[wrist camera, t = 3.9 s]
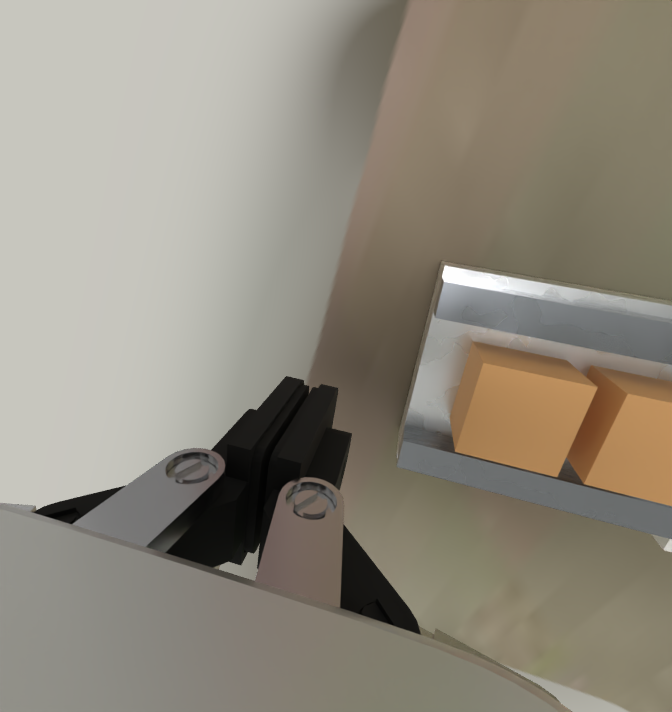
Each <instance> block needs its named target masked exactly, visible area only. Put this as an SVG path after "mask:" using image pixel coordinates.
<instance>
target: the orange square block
mask: <svg viewBox="0 0 672 712" xmlns="http://www.w3.org/2000/svg"><path fill="white" fill-rule="evenodd" d="M586 377H587V378H588V379H589V380H590V381H591V382H592V383H593V384H595V385H596V386H597V387H598V388H597V390H596V392H595V395H594V397H593V399H592V401H591V404H590V406H589V408H588V410H587V412H586V415H585V417H584V419H583V421H582V423H581V426H580V428H579V430H578V432H577V434H576V437H575V439H574V441H573V443H572V446H571V448H570V450H569V452H568V454H567V459H568V461H569V462H570V464H571V465H572V467H573V468H574V470H575V471H576V473H577V474H578V476H579V477H580V479H581V481H582V482H583V484H585V485H589V486H593V487H597V488H601V489H605V490H609V491H613V492H617V493H621V494H625V495H629V496H633V497H637V498H641V499H645V500H649V501H653V502H657V503H661V504H665V505H669V506H672V382H671V381H666V380H661V379H656V378H652V377H647V376H642V375H637V374H632V373H627V372H622V371H617V370H613V369H608V368H603V367H598V366H593V365H591V367H590V369H589V371H588V373H587V376H586Z"/></svg>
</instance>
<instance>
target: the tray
mask: <svg viewBox="0 0 672 712" xmlns="http://www.w3.org/2000/svg"><path fill="white" fill-rule="evenodd" d="M651 535H652V536H653V537H654V539H655V540H656V541H657V543H658V544H659V545H660V546H661V548H662V549H663V550H665V551H669V552H672V539H668V538H664V537H660V536H657V535H653V534H651Z"/></svg>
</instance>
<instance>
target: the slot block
mask: <svg viewBox="0 0 672 712" xmlns="http://www.w3.org/2000/svg"><path fill="white" fill-rule="evenodd" d="M473 341H476V342H481V343H486V344H491V345H495V346H500V347H505V348H510V349H515V350H520V351H525V352H530V353H534V354H539V355H544V356H549V357H554V358H559V359H564V360H567V361H568V362H569V363H571V364H572V365H573V366H574V367H575V368H576V369H577V370H579V371H580V372H581V373H582V374H583V375H584V376H585V377H586V376H587V373H588V371H589V369H590V367H591V365H593V366H598V367H603V368H608V369H613V370H617V371H622V372H627V373H632V374H637V375H642V376H647V377H652V378H656V379H661V380H666V381H671V382H672V301H669V300H663V299H658V298H652V297H646V296H641V295H635V294H629V293H623V292H618V291H612V290H606V289H601V288H595V287H589V286H583V285H578V284H572V283H566V282H561V281H555V280H549V279H543V278H538V277H532V276H526V275H520V274H515V273H509V272H503V271H498V270H492V269H486V268H480V267H475V266H469V265H463V264H458V263H452V262H446V261H441V264H440V268H439V272H438V276H437V280H436V284H435V288H434V292H433V296H432V300H431V304H430V308H429V312H428V316H427V320H426V324H425V328H424V332H423V336H422V340H421V344H420V348H419V352H418V356H417V360H416V364H415V368H414V372H413V376H412V380H411V384H410V388H409V392H408V396H407V400H406V404H405V408H404V412H403V416H402V420H401V424H400V428H399V437H398V446H397V456H396V458H397V467H399V468H403V469H407V470H410V471H414V472H418V473H422V474H426V475H429V476H433V477H437V478H441V479H445V480H448V481H452V482H456V483H460V484H463V485H467V486H471V487H475V488H479V489H482V490H486V491H490V492H494V493H498V494H501V495H505V496H509V497H513V498H517V499H520V500H524V501H528V502H532V503H535V504H539V505H543V506H547V507H551V508H554V509H558V510H562V511H566V512H570V513H573V514H577V515H581V516H585V517H588V518H592V519H596V520H600V521H604V522H607V523H611V524H615V525H619V526H623V527H626V528H630V529H634V530H638V531H641V532H645V533H649V534H653V535H657V536H660V537H664V538H668V539H672V506H669V505H665V504H661V503H657V502H653V501H649V500H645V499H641V498H637V497H633V496H629V495H625V494H621V493H617V492H613V491H609V490H605V489H601V488H597V487H593V486H589V485H585V484H583V482H582V481H581V479H580V477H579V476H578V474H577V473H576V471H575V470H574V468H573V467H572V465H571V464H570V462H569V461H568V459H567V457H566V459H565V461H564V463H563V465H562V468H561V470H560V472H559V474H558V477H554V476H550V475H546V474H542V473H538V472H534V471H530V470H526V469H522V468H518V467H514V466H510V465H506V464H502V463H498V462H494V461H490V460H486V459H482V458H478V457H474V456H470V455H466V454H462V453H458V452H455V449H454V442H453V436H452V429H451V423H450V415H451V411H452V408H453V405H454V401H455V398H456V395H457V391H458V388H459V385H460V381H461V378H462V375H463V372H464V368H465V365H466V362H467V358H468V355H469V352H470V348H471V345H472V342H473Z"/></svg>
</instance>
